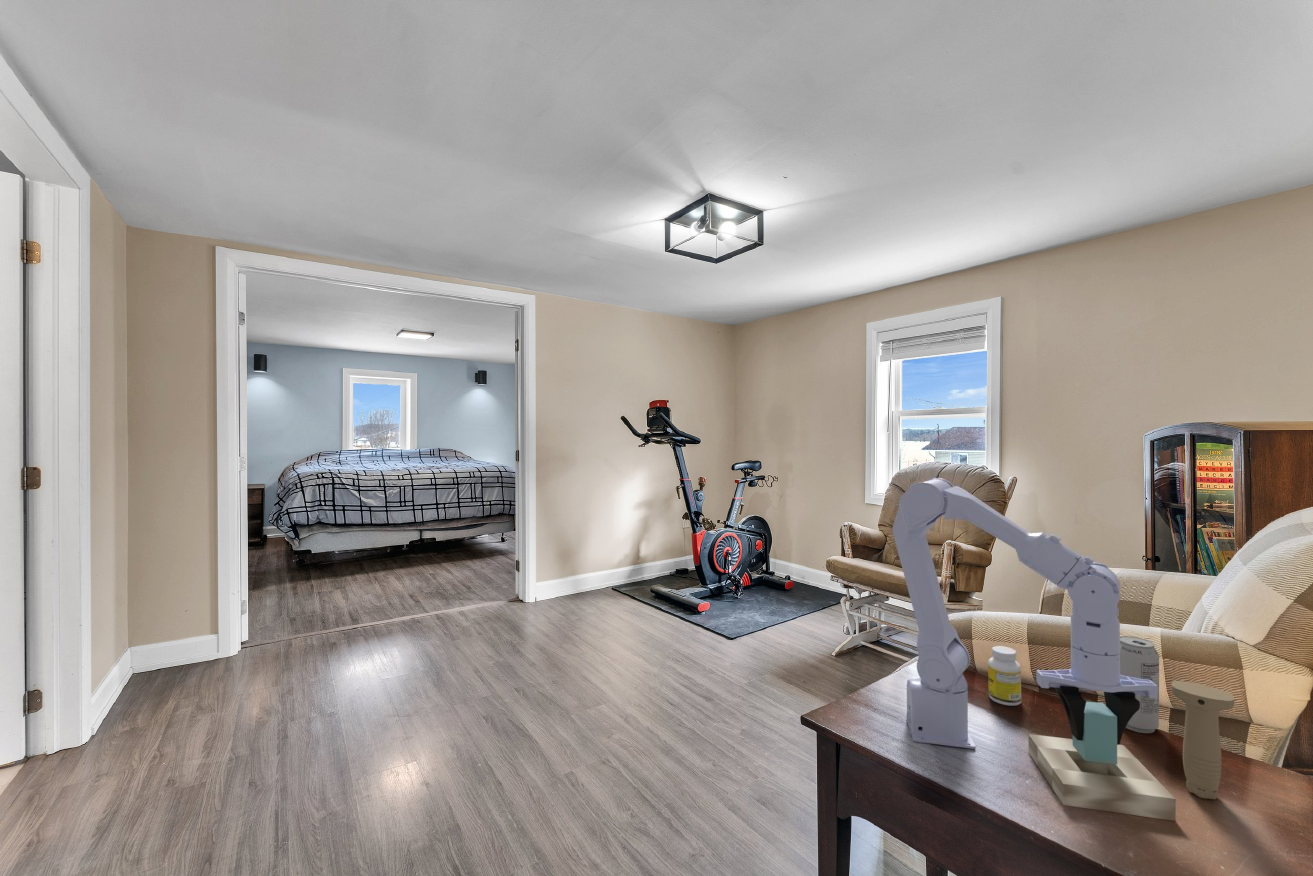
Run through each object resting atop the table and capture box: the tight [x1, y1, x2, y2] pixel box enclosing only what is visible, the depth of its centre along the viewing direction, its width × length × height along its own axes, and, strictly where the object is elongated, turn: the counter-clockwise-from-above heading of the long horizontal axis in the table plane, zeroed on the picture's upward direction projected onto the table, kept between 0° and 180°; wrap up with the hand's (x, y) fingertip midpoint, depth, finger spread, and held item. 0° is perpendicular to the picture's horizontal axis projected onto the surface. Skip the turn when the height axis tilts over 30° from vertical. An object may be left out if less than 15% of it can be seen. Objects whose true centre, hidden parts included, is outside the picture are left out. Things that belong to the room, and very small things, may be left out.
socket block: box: [1028, 733, 1177, 822], centre depth 83 cm, size 13×13×3 cm
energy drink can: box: [1120, 635, 1160, 734], centre depth 98 cm, size 6×6×15 cm
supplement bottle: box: [987, 645, 1022, 707], centre depth 108 cm, size 5×5×10 cm
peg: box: [1072, 701, 1117, 764], centre depth 83 cm, size 4×4×7 cm
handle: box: [1171, 680, 1235, 801], centre depth 80 cm, size 5×6×15 cm
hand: (1095, 738), depth 82 cm, fingers closed on peg, 4 cm apart
